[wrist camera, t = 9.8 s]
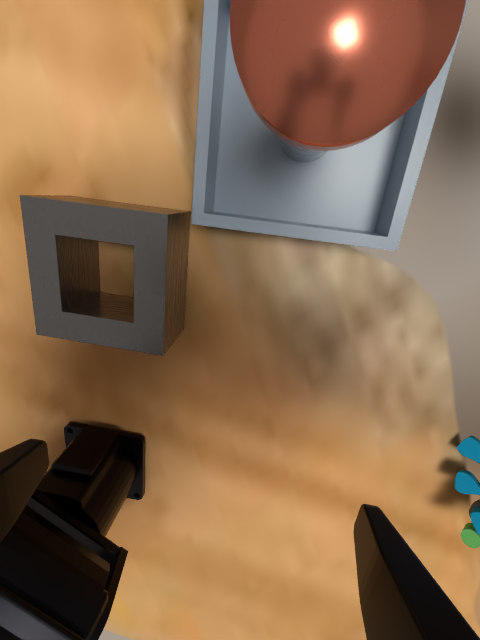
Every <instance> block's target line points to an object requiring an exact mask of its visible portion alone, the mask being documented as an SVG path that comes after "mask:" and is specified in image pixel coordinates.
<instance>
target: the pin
mask: <svg viewBox="0 0 480 640" xmlns="http://www.w3.org/2000/svg"><path fill="white" fill-rule="evenodd" d="M465 4H466V0H231V5H230V36H231V45H232V51H233V56H234V61H235V64H236V67H237V71H238V74H239V77H240V79H241V82H242V85H243V87H244V90H245V93H246V95H247V97H248V99H249V102H250V104H251V106H252V107H253V109H254V111H255V113H256V114H257V116H258V117H259V118H260V119H261V121H262V122H263V123H264V125H265V126H266V127H268V128H269V129H270V130H271V131H272V132H273V133H274V134H275V135H277V136H278V140H279V143H280V146H281V148H282V149H283V151H284V152H285V153H286V154H287V155H288V156H289V157H290V158H292V159H294V160H296V161H300V162H310V161H314V160H316V159H318V158H320V157H322V156H323V155H324V154H325V153H327V152H328V151H333V150H340V149H344V148H348V147H351V146H354V145H356V144H359V143H362V142H364V141H365V140H367V139H369V138H371V137H373V136H374V135H376V134H377V133H379V132H380V131H381V130H383V129H384V128H386V127H387V126H388V125H390V124H391V123H393V122H394V121H395V120H397V119H398V118H400V117H401V116H402V115H403V114H404V113H405V112H407V111H408V110H409V109H410V108H411V107H412V106H413V105H414V104H415V103H416V102H417V101H418V100H419V99H420V98H421V97H422V96H423V94H424V93H425V92H426V91H427V90H428V88H429V87H430V86H431V84H432V83H433V81H434V80H435V79H436V77H437V76H438V74H439V72H440V71H441V69H442V67H443V65H444V64H445V62H446V60H447V58H448V56H449V54H450V52H451V49H452V47H453V45H454V43H455V40H456V37H457V34H458V31H459V28H460V25H461V22H462V17H463V13H464V9H465Z"/></svg>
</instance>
